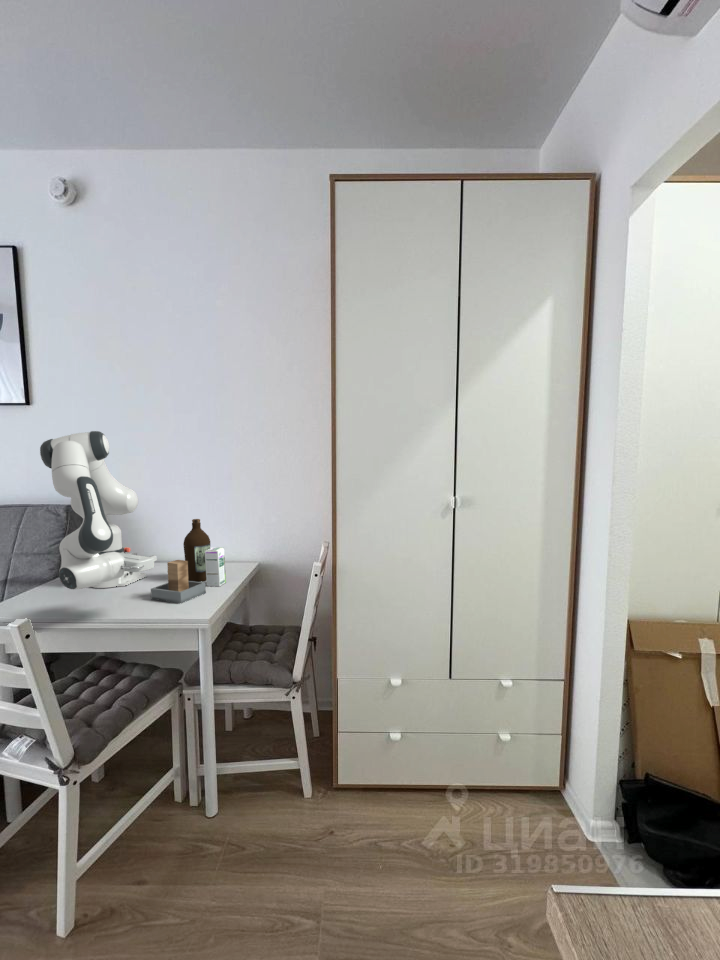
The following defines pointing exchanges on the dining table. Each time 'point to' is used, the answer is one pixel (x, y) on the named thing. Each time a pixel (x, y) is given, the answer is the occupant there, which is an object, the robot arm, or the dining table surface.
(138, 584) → the dining table surface
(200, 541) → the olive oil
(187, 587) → the wooden block
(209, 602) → the dining table surface
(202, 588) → the bin
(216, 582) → the syrup box
